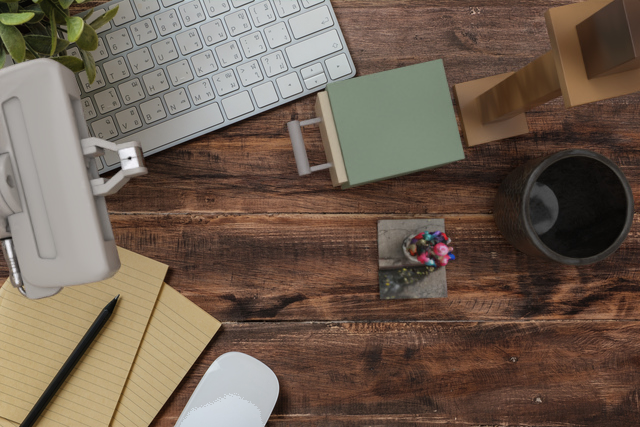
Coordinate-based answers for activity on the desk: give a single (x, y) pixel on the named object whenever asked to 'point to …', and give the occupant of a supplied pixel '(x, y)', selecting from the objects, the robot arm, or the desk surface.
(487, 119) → the stand
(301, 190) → the desk surface
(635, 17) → the pencil box
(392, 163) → the cabinet
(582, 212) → the planter
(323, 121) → the drawer
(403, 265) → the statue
